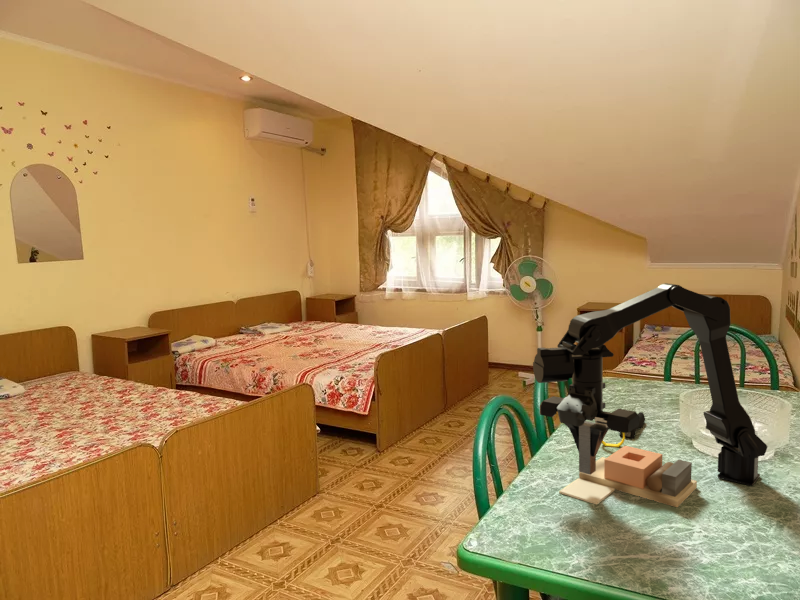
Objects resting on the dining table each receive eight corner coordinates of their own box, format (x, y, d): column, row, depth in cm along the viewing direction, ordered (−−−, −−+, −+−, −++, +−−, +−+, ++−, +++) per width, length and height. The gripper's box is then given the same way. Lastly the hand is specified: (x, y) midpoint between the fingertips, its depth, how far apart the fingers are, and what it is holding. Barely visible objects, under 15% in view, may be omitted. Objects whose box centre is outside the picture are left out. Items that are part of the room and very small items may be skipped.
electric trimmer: (648, 423, 159) (649, 412, 158) (633, 440, 146) (633, 428, 146) (634, 421, 161) (634, 410, 160) (618, 438, 148) (618, 426, 148)
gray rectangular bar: (595, 470, 118) (595, 423, 117) (590, 474, 116) (590, 426, 115) (584, 467, 120) (584, 420, 119) (579, 471, 118) (578, 423, 117)
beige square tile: (614, 490, 119) (614, 488, 119) (596, 504, 113) (596, 502, 113) (578, 479, 124) (578, 478, 124) (559, 492, 119) (559, 490, 118)
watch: (623, 446, 143) (626, 422, 142) (624, 450, 140) (626, 426, 140) (598, 442, 145) (600, 419, 144) (597, 446, 142) (599, 422, 142)
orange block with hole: (662, 472, 123) (662, 454, 122) (643, 488, 116) (643, 469, 115) (624, 463, 128) (624, 445, 128) (604, 477, 121) (604, 459, 121)
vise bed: (696, 487, 119) (697, 461, 118) (677, 507, 111) (677, 479, 110) (602, 463, 132) (602, 439, 132) (579, 479, 125) (579, 454, 124)
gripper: (524, 380, 117) (525, 455, 118) (615, 396, 104) (615, 480, 106) (553, 369, 125) (553, 440, 126) (640, 383, 112) (640, 461, 113)
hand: (587, 454), depth 118 cm, fingers closed on gray rectangular bar, 2 cm apart
